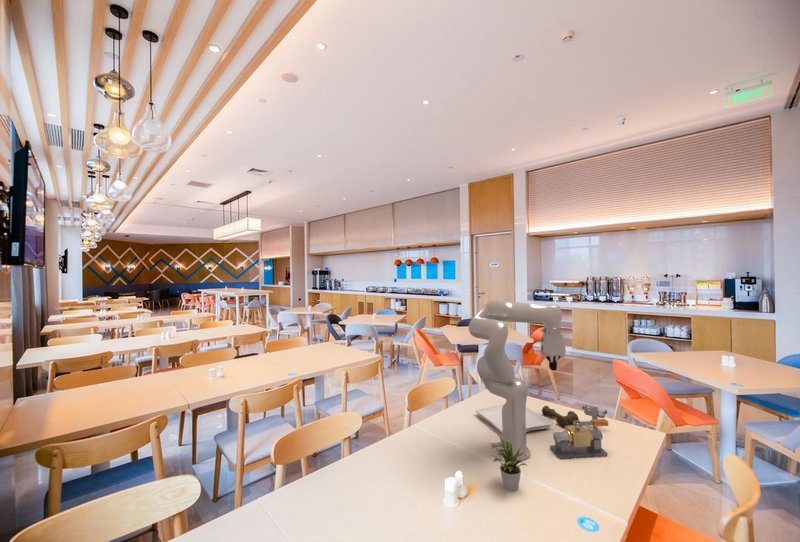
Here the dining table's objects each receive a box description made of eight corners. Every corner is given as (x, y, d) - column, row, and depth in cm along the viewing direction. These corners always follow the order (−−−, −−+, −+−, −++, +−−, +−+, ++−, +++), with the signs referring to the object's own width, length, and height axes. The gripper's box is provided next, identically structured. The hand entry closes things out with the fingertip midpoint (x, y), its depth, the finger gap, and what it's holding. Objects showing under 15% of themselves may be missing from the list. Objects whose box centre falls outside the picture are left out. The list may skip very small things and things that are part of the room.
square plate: (474, 416, 179) (474, 409, 179) (518, 408, 187) (518, 401, 187) (504, 440, 153) (504, 432, 153) (554, 430, 162) (554, 422, 162)
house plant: (479, 477, 126) (478, 434, 126) (509, 469, 131) (508, 427, 131) (503, 502, 113) (502, 453, 113) (536, 491, 118) (535, 444, 118)
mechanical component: (607, 432, 158) (606, 411, 157) (582, 426, 164) (581, 406, 164) (607, 430, 160) (607, 409, 160) (583, 424, 166) (582, 404, 166)
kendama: (551, 413, 181) (586, 428, 163) (538, 418, 176) (572, 433, 158) (550, 402, 181) (585, 415, 163) (537, 406, 177) (571, 420, 158)
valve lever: (575, 427, 140) (575, 422, 140) (571, 424, 143) (571, 419, 143) (609, 426, 140) (608, 421, 140) (604, 422, 144) (603, 417, 144)
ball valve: (560, 459, 137) (559, 431, 137) (550, 449, 145) (549, 422, 145) (607, 456, 138) (606, 429, 138) (594, 446, 146) (594, 420, 146)
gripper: (540, 333, 156) (541, 372, 156) (572, 331, 157) (572, 371, 157) (533, 330, 163) (534, 368, 163) (563, 329, 164) (564, 366, 164)
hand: (553, 369), depth 160 cm, fingers closed
